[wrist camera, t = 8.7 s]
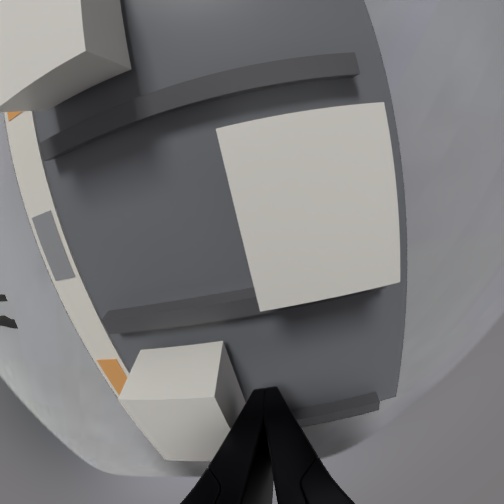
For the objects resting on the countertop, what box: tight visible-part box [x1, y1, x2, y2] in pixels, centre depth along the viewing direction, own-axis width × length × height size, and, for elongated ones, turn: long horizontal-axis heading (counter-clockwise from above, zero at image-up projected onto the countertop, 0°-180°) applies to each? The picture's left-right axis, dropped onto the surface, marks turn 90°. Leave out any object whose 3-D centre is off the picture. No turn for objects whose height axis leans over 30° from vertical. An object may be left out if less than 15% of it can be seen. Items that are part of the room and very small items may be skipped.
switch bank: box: [4, 0, 407, 427], centre depth 8 cm, size 12×25×3 cm, turn 12°
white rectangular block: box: [216, 102, 400, 312], centre depth 6 cm, size 3×4×2 cm
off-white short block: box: [118, 341, 246, 461], centre depth 9 cm, size 3×4×2 cm
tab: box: [0, 0, 131, 112], centre depth 5 cm, size 3×4×2 cm
